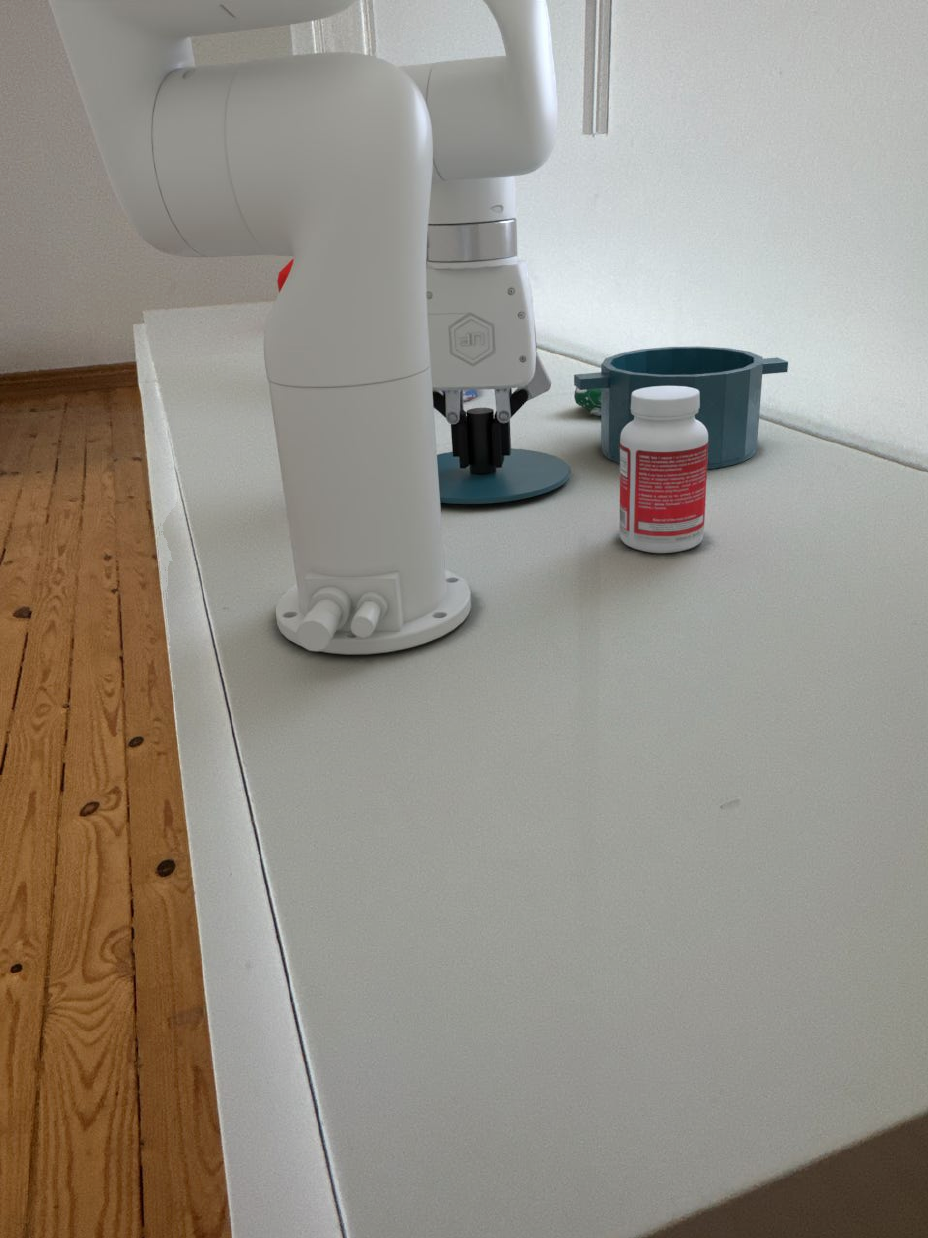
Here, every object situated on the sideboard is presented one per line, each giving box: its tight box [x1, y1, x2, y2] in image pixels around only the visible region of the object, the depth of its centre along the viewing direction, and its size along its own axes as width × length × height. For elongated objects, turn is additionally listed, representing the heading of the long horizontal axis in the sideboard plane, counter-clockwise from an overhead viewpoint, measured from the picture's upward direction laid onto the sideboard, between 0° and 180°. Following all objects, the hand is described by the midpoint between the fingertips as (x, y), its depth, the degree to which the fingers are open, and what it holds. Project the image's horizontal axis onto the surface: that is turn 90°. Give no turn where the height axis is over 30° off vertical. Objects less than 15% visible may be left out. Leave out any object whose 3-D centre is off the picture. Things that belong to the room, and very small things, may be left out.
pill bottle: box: [619, 386, 708, 554], centre depth 70 cm, size 6×6×11 cm
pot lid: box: [437, 407, 571, 505], centre depth 86 cm, size 16×16×7 cm
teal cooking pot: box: [573, 346, 789, 470], centre depth 92 cm, size 15×20×8 cm
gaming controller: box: [573, 386, 601, 416], centre depth 107 cm, size 9×4×6 cm
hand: (482, 462), depth 87 cm, fingers closed on pot lid, 2 cm apart
